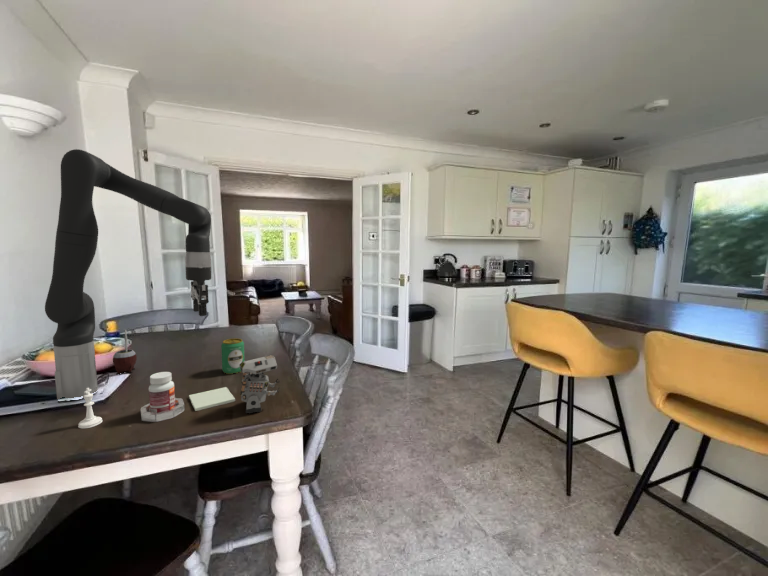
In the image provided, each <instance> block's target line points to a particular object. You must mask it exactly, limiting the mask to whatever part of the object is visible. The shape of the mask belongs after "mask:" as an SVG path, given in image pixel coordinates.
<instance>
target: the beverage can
mask: <svg viewBox="0 0 768 576" xmlns="http://www.w3.org/2000/svg"><path fill="white" fill-rule="evenodd" d="M220 346H221V349H220V350H221V370H222V372H223V373H224V374H225V373H226V374H225V375H234V374H233V373H236V374H239V373H238V372H240V373H242V372H241V370H240V366H239V364H241V363H242V362H244V361H246V360H245V342H244V341H243V339H242V338H237V337H236V338H234V337H233V338H228V339H225V340H222V343H221V345H220Z"/></svg>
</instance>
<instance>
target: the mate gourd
mask: <svg viewBox="0 0 768 576" xmlns="http://www.w3.org/2000/svg"><path fill="white" fill-rule="evenodd" d="M127 334H128V332H127V329H124V344H125V345H124V346H125V349H123V350H118V351H116V352H115V353H114V354H113V356H112V363H113V366H114V368H115V371H116V375H117V374H119V375H121V374H120V373H122V374H125V373H124V372H126V374H133V371H135V370H136V369H135V365H136V363H137V358H138V356H137V353H136V352H135V351H134V350H133V349H128V336H127Z"/></svg>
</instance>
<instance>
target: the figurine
mask: <svg viewBox="0 0 768 576" xmlns="http://www.w3.org/2000/svg"><path fill="white" fill-rule="evenodd" d="M239 366H240V370H241V371H242V372H241V373H242V379H241V385H242V386H241V387H240V388H241V389H240V397H241V399H240V400H241V402H244V403H246V405H245V406H246V407H245V414H247V413H249V414H253V413H255V412H257V413H260V412H262V406H261V403H264V402H265V401H266V400H267V399H266V398H267V396H268V397H269V396H276V393H280V389H281V387H278V388H277V389H276V390H272V391H271V390H268V387H271V388H275V386H276V385H277V384H279V383H280V379H279V378H276V380H275V382H273V383H271V382H270V380H269V375H266V374H264V373H266V372H270V371H273V370H277V369H278V364H277V360H276V357H275V356H274V355H272V354H271V355H270V354H269V355H266V356H262V357H256V358H254V359H249V360H245V361H244V362H242V363H241V364H239Z"/></svg>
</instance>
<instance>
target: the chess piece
mask: <svg viewBox="0 0 768 576" xmlns="http://www.w3.org/2000/svg"><path fill="white" fill-rule="evenodd" d="M90 391H91V389H89V388H86V391H85V392H84V393H87V394H86V395H84V396H83V398H84V399H83V400H85V403H84V404H83V406H84V407H86V414H85V417H84V419H82V420H80V421H79V423H78V424H77V425H78V426H77V427H78V428H79V429H89V428H94V427H96V426H98V425H100V424H101V423H103V418H102V417H101V416H97V415H94V411H93V407H92V406H93V405H95V402H94V401H92V400H93V398H94V395H93V394H92V393H90Z"/></svg>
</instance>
